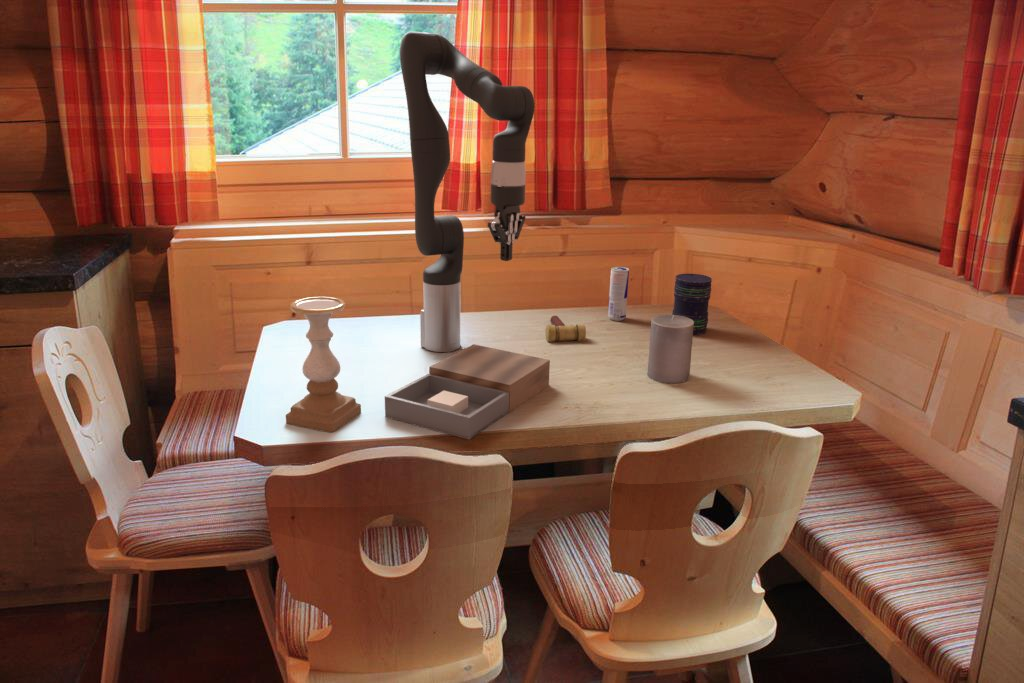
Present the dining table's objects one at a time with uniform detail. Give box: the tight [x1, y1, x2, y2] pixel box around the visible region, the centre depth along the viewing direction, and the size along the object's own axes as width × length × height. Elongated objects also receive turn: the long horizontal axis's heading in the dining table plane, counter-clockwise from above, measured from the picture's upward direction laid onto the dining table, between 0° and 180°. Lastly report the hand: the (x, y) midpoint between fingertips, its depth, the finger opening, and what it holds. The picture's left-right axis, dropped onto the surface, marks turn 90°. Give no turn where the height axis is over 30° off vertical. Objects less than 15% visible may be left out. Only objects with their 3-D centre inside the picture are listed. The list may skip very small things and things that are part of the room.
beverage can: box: [607, 266, 630, 322], centre depth 228 cm, size 5×5×15 cm
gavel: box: [545, 315, 587, 343], centre depth 218 cm, size 21×5×10 cm
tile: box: [427, 391, 468, 413], centre depth 164 cm, size 6×6×2 cm
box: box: [384, 373, 510, 441], centre depth 162 cm, size 20×15×4 cm
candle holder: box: [285, 296, 362, 433], centre depth 157 cm, size 11×11×24 cm
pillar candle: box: [646, 314, 694, 384], centre depth 184 cm, size 10×10×15 cm
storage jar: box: [671, 273, 713, 337], centre depth 219 cm, size 10×10×15 cm
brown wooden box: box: [428, 343, 551, 413], centre depth 176 cm, size 20×18×6 cm
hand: (506, 260), depth 179 cm, fingers closed
